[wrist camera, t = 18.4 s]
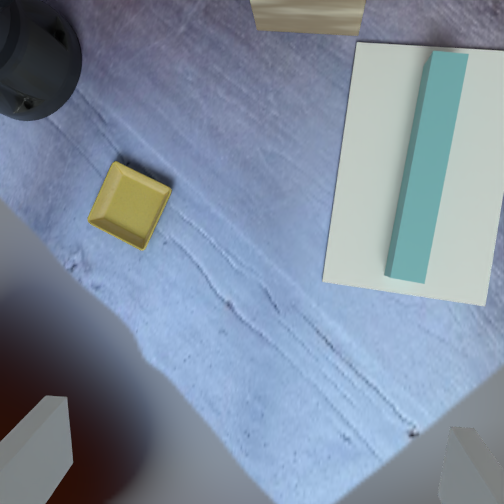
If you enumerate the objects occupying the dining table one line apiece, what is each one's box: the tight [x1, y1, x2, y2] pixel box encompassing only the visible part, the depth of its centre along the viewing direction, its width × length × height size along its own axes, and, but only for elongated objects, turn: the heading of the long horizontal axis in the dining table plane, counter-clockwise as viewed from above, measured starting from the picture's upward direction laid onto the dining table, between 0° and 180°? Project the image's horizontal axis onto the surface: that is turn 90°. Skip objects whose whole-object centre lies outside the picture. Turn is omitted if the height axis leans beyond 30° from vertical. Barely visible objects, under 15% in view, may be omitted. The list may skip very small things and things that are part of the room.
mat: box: [322, 42, 504, 306], centre depth 44 cm, size 28×18×1 cm, turn 172°
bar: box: [384, 51, 469, 284], centre depth 42 cm, size 24×4×4 cm, turn 170°
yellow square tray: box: [88, 161, 172, 250], centre depth 49 cm, size 9×9×2 cm
